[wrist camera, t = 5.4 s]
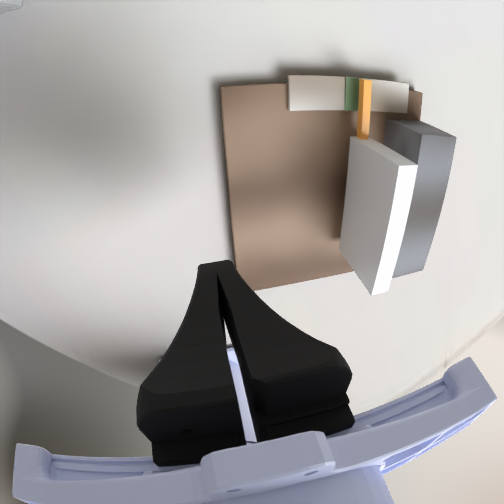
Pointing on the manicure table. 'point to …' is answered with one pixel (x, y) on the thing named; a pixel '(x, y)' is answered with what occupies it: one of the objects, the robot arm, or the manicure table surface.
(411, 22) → the manicure table surface
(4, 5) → the skincare box
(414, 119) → the gauge frame
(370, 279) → the paddle
